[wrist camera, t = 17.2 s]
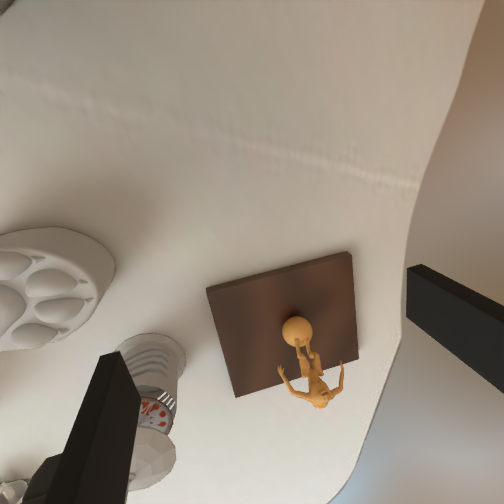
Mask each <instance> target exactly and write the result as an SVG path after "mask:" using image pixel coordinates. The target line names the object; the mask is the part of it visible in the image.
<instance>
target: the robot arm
mask: <svg viewBox="0 0 504 504" xmlns="http://www.w3.org/2000/svg"><path fill="white" fill-rule="evenodd" d="M12 1H13V0H0V14H1V13H2V12H3V11H4V10H5V9H6V8H7V7H8V6H9V5H10V4H11V2H12ZM406 302H407V304H406V317H407V318H408V319H409V320H411V321H412V322H413V323H415V324H416V325H417V326H418V327H420V328H421V329H422V330H424V331H425V332H426V333H427V334H429V335H430V336H431V337H432V338H434V339H435V340H436V341H437V342H439V343H440V344H441V345H443V346H444V347H445V348H446V349H448V350H449V351H450V352H452V353H453V354H454V355H456V356H457V357H458V358H459V359H460V360H462V361H463V362H464V363H465V364H467V365H468V366H469V367H471V368H472V369H473V370H474V371H476V372H477V373H478V374H479V375H481V376H482V377H483V378H485V379H486V380H487V381H488V382H490V383H491V384H492V385H493V386H495V387H496V388H497V389H499V390H500V391H501V392H502V393H504V306H503V305H501V304H499V303H497V302H495V301H493V300H491V299H489V298H487V297H485V296H483V295H481V294H479V293H477V292H475V291H473V290H471V289H470V288H468V287H466V286H464V285H462V284H460V283H458V282H456V281H454V280H452V279H450V278H448V277H446V276H444V275H442V274H440V273H438V272H436V271H434V270H432V269H431V268H429V267H427V266H425V265H422V264H420V265H416V266H413V267H409V268H407V301H406ZM141 400H142V399H141V397H140V395H139V392H138V390H137V388H136V386H135V383H134V381H133V379H132V377H131V375H130V372H129V370H128V368H127V366H126V364H125V361H124V359H123V357H122V355H121V352H120V351H116V352H113V353H109V354H106V355H102V356H100V358H99V361H98V363H97V366H96V368H95V371H94V374H93V376H92V379H91V381H90V384H89V386H88V389H87V392H86V394H85V397H84V399H83V402H82V404H81V407H80V410H79V412H78V415H77V417H76V420H75V423H74V425H73V428H72V430H71V433H70V435H69V438H68V441H67V443H66V446H65V448H64V451H63V453H61V454H58V455H55V456H52V457H49V458H46V460H45V461H44V462H43V464H42V465H41V466H40V468H39V469H38V470H37V471H36V473H35V474H34V475H33V477H32V478H31V480H30V482H29V485H28V487H27V489H26V491H25V493H24V496H23V498H22V503H20V504H125V498H126V492H127V486H128V479H129V473H130V467H131V461H132V455H133V449H134V443H135V437H136V430H137V424H138V418H139V412H140V406H141Z"/></svg>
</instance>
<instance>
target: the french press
mask: <svg viewBox="0 0 504 504" xmlns="http://www.w3.org/2000/svg"><path fill="white" fill-rule="evenodd" d="M116 351H120V352H121V355H122V357H123V359H124V361H125V364H126V366H127V368H128V370H129V372H130V375H131V377H132V379H133V381H134V383H135V386H136V388H137V390H138V392H139V395H140V397H141V399H142V400H141V406H140V412H139V418H138V424H137V430H136V437H135V443H134V449H133V455H132V461H131V467H130V473H129V479H128V486H127V492H126V498H125V504H126V501H127V495H128V492H130V491H135V490H140V489H145V488H148V487H150V486H152V485H154V484H156V483H158V482H160V481H161V480H162V479H163V478H164V477H165V476H166V475H168V474H169V473H170V472H171V470H172V468H173V466H174V463H175V461H176V451H175V446H174V444H173V443H172V441H171V440H170V438H169V437H168V436H167V435H168V434H169V432H170V430H171V428H172V425H173V419H174V417H175V414H176V408H177V381H178V379H179V378H180V377H181V375H182V373H183V370H184V368H185V366H186V364H185V354H184V352H183V350H182V349H181V347H180V345H179V344H178V343H176V342H175V341H173V340H172V339H170V338H169V337H167V336H163V335H158V334H154V333H152V334H142V335H137V336H135V337H132V338H130V339H128V340H126V341H124V342H123V343H122V344H121V345H120V346H119V347H118V348H117V349H116V350H115V352H116ZM164 392H167V393H166V394H165V395H164V396H163V397H162V398H161V399H160V400H158V399H157V398H159V397H160V396H161V395H162V394H163V393H164ZM168 395H170V396H169V397H168V399H167V400H166V401H165V402H164V403H163V402H162V401H163V400H164V399H165V398H166V397H167V396H168ZM171 398H173V400H172V401H171V402H170V403H169V404H168V406H167V405H166V404H167V403H168V401H169V400H170V399H171ZM174 401H175V404H174V406H173V407H172V409H171V410H169V407H170V406H171V405H172V404H173V402H174Z"/></svg>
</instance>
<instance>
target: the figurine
mask: <svg viewBox="0 0 504 504" xmlns="http://www.w3.org/2000/svg"><path fill="white" fill-rule="evenodd" d="M282 333H283V337H284V339H285V341H286V342H287V343H288V344H290V345H291V346H294V347H296V351H297V357H298V359H300V368H301V375H302V377H303V378H306V377H308V381H309V393H305V392H300V391H295V390H294V389H293V388H292V386H291V385H290V383H289V381H288V380H287V378H286V377H285V376H284V375H283V372H284V368H283V370H282V369H281V365H280V368H279V366H278V368H279V370H278V372H279V374H280V376H281V377H282V379H283V381H284V383H285V384H286V386H287V387H288V389H289V392H290V393H291V394H292V395H294V396H296V397H299V398H303V399H305V400H307V401H309V402H311V403H312V404H313V405H314V406H315V407H316V408H319V409H322V408H325V407H326V406H327V404H328V402H329V400H331V399H333V398H334V397H335V395H337V394H338V393H340V392H341V391H342V389H343V379H344V368H343V364H342V362H341V361H340V363H341V364H340V366H341V373H340V379H339V387H337V388H335V389H333V390H331V391H330V390H329V388H328V386H327V384H326V383H325V382H323V381H322V379H320V377H319V376H323V375H324V373H323V371H322V369H321V363H320V359H319V354H318V353H316V352H314V353H311V351H310V346H309V342H310V340H311V338H312V327H311V325H310V323H309V322H308V321H307V320H306V319H305V318H303V317H299V316H295V317H291V318H289V319H288V320H287V321H286V322H285V323H284V325H283V329H282ZM304 345H305V346H306V350H307V353H308V355H309V357H310V358H312V359H313V358H314V359H313V361H312V366H313V369H314V370H313V369H310V364H309V362H308V361H307V359H306V357H305V355H304V354H303V353H300V347H302V346H304ZM278 368H277V369H278ZM309 369H310V370H309Z"/></svg>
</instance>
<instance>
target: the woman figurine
mask: <svg viewBox="0 0 504 504" xmlns="http://www.w3.org/2000/svg"><path fill="white" fill-rule="evenodd" d="M27 487H28V486H27V483H26V482H24V481H23V480H22V479H21V480H17V481H13V482H10V483H5V482H3V483H2V484H0V504H20V503H22V498H23V496H24V493H25V491H26V489H27Z"/></svg>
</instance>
